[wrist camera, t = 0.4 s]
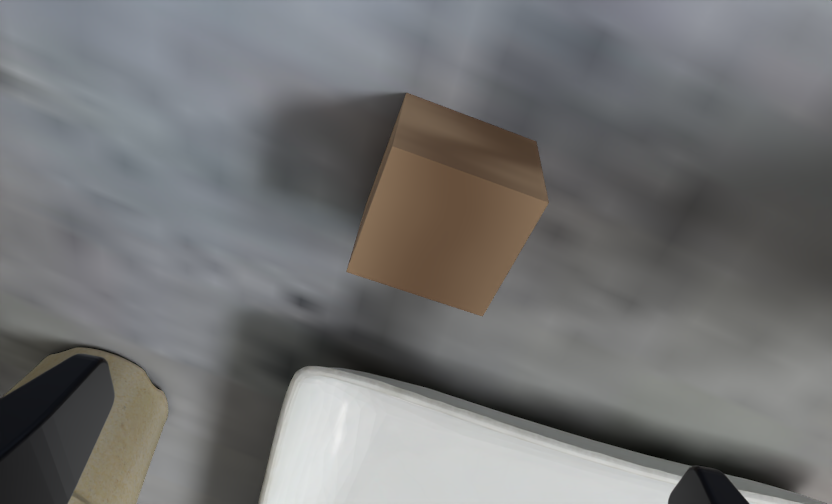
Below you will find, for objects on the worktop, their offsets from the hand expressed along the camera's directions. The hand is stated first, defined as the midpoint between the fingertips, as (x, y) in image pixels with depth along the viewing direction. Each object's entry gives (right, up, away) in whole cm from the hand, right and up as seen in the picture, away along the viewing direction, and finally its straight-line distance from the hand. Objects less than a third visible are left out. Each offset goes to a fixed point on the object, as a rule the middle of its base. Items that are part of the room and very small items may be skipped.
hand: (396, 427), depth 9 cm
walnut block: (+1, +5, +11) cm, 12 cm away
